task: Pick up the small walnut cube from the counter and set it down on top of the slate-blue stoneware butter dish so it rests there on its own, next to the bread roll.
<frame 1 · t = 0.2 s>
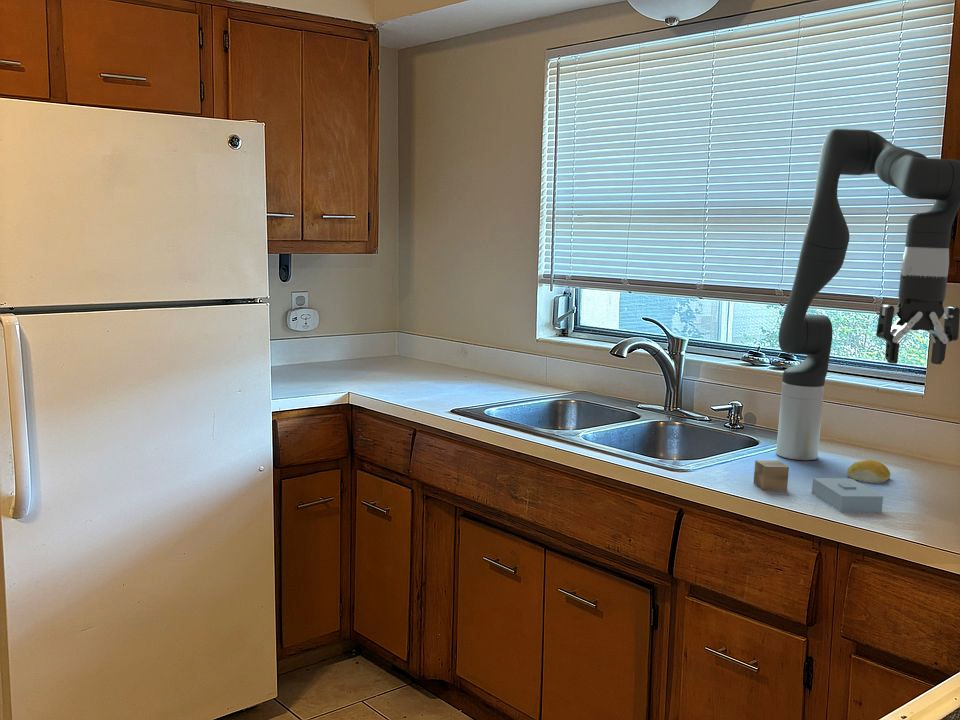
hand: (914, 363, 161), 29 cm above the worktop, tool pointing down, fingers open, 8 cm apart
bread roll: (868, 479, 192), on the worktop
walnut cube: (769, 487, 182), on the worktop
butter dish: (845, 504, 173), on the worktop
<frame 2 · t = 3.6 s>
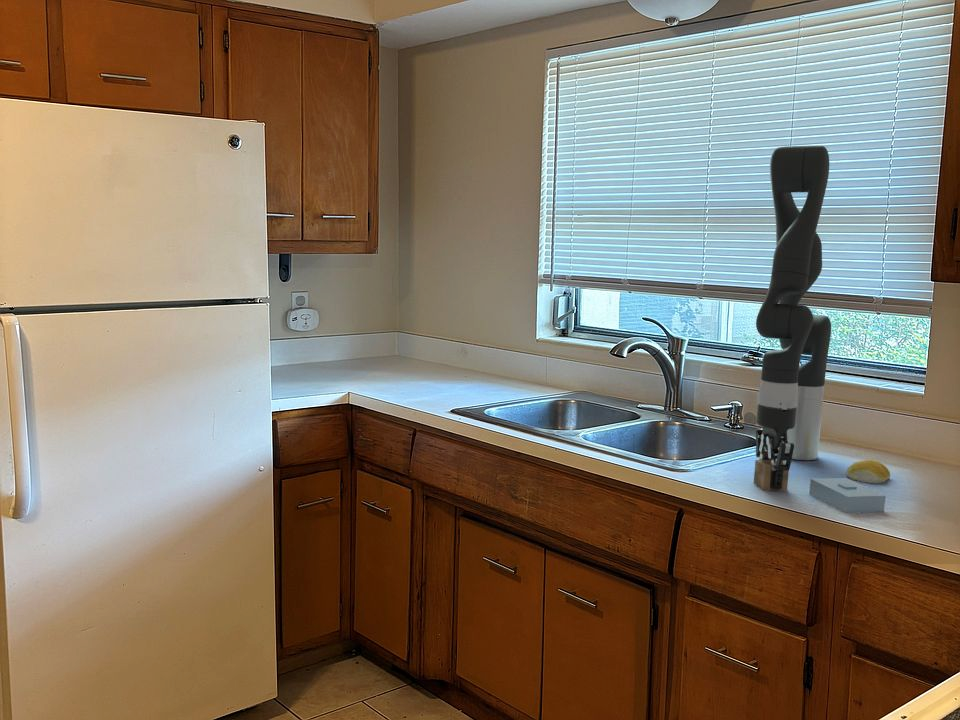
hand: (770, 484, 182), 0 cm above the worktop, tool pointing down, fingers closed on walnut cube, 5 cm apart
walnut cube: (770, 486, 182), on the worktop, touching gripper
everything else where it was.
when the fingers open (5 cm above the worktop, at t = 8.2 s): walnut cube drops 1 cm, point 3 cm above the worktop.
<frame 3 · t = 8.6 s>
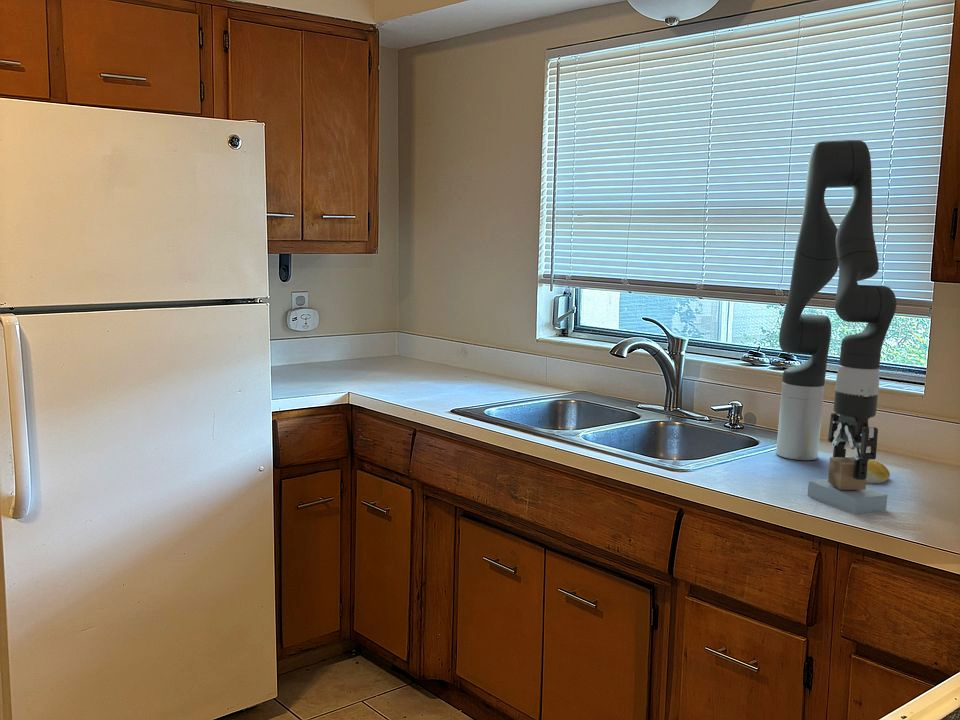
hand: (848, 472, 172), 6 cm above the worktop, tool pointing down, fingers open, 8 cm apart
walnut cube: (846, 485, 172), point 3 cm above the worktop
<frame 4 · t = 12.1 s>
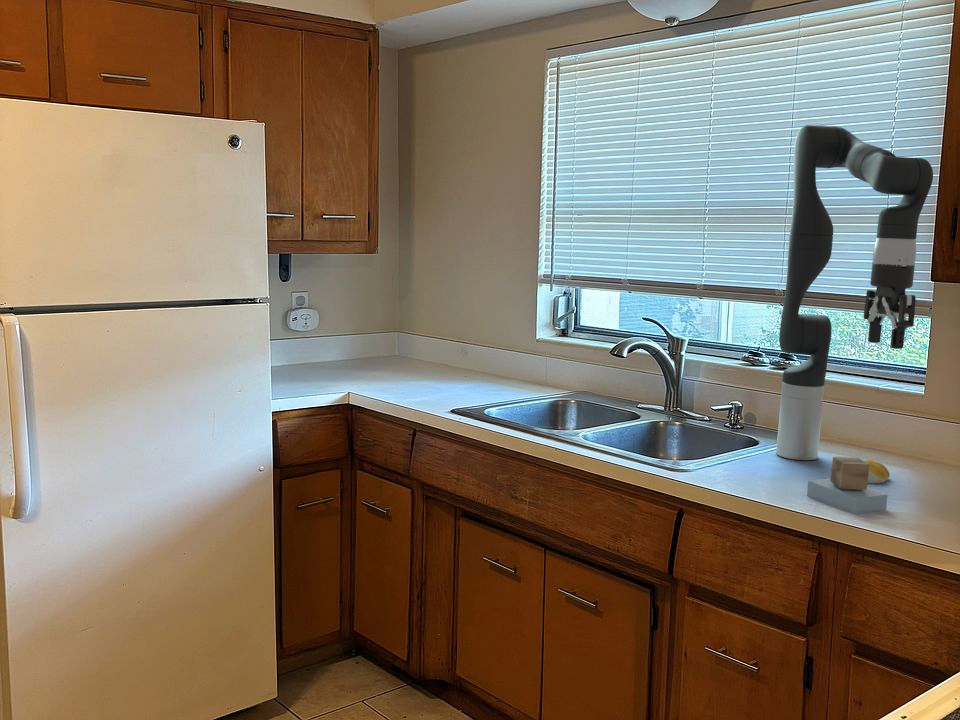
hand: (884, 345, 175), 30 cm above the worktop, tool pointing down, fingers open, 8 cm apart
nothing on the worktop moved.
at the end: walnut cube inside the target area on the butter dish (0.2 cm from its centre), point 3.9 cm above the butter dish's base; the gripper is holding nothing; butter dish moved 0.5 cm from its start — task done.
